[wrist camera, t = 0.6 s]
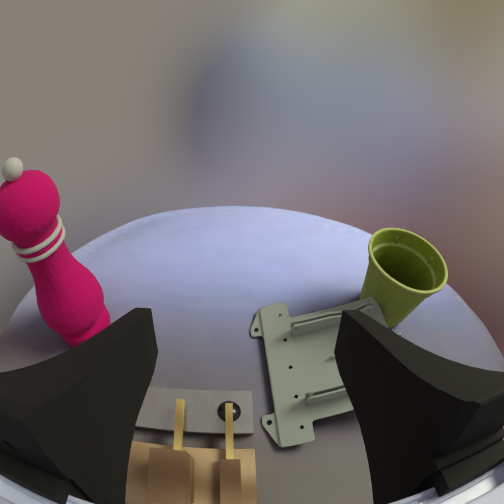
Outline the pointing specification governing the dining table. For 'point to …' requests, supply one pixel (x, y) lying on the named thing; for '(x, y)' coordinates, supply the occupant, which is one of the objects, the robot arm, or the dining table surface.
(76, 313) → the pepper mill
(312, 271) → the dining table surface
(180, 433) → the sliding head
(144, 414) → the bolt strip
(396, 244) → the plant pot
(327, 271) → the dining table surface
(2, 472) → the robot arm
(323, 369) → the metal bracket
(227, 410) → the trammel beam
